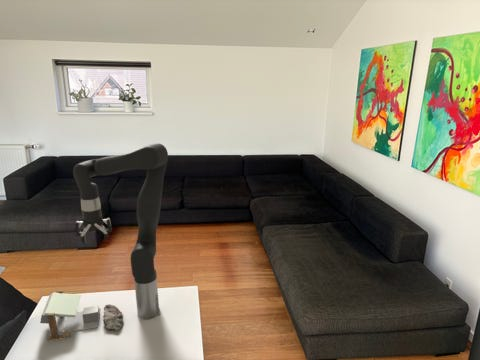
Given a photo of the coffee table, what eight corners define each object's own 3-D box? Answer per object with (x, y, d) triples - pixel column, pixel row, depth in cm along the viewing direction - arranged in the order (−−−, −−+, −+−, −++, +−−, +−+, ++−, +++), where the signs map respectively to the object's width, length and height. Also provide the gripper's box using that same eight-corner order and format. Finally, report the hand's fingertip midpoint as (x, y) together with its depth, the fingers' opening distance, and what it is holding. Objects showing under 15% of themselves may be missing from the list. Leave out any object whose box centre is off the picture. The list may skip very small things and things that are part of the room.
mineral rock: (123, 331, 141) (122, 322, 140) (102, 335, 139) (101, 325, 138) (123, 309, 155) (123, 300, 154) (104, 312, 153) (103, 303, 151)
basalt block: (83, 323, 145) (99, 321, 146) (82, 314, 143) (97, 312, 145) (85, 316, 149) (100, 314, 150) (83, 307, 148) (98, 305, 149)
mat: (100, 309, 154) (100, 308, 154) (97, 327, 143) (97, 326, 143) (68, 314, 151) (68, 313, 151) (63, 333, 140) (63, 332, 140)
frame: (77, 309, 154) (73, 287, 151) (69, 337, 137) (65, 313, 134) (57, 312, 152) (53, 290, 149) (47, 341, 135) (43, 316, 132)
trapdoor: (78, 303, 151) (80, 294, 150) (73, 325, 138) (75, 315, 138) (48, 301, 147) (50, 292, 146) (40, 323, 134) (42, 312, 134)
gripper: (71, 212, 141) (76, 248, 146) (108, 209, 145) (112, 243, 150) (74, 206, 148) (79, 240, 153) (109, 203, 152) (113, 236, 157)
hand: (95, 242), depth 151 cm, fingers open, 8 cm apart
